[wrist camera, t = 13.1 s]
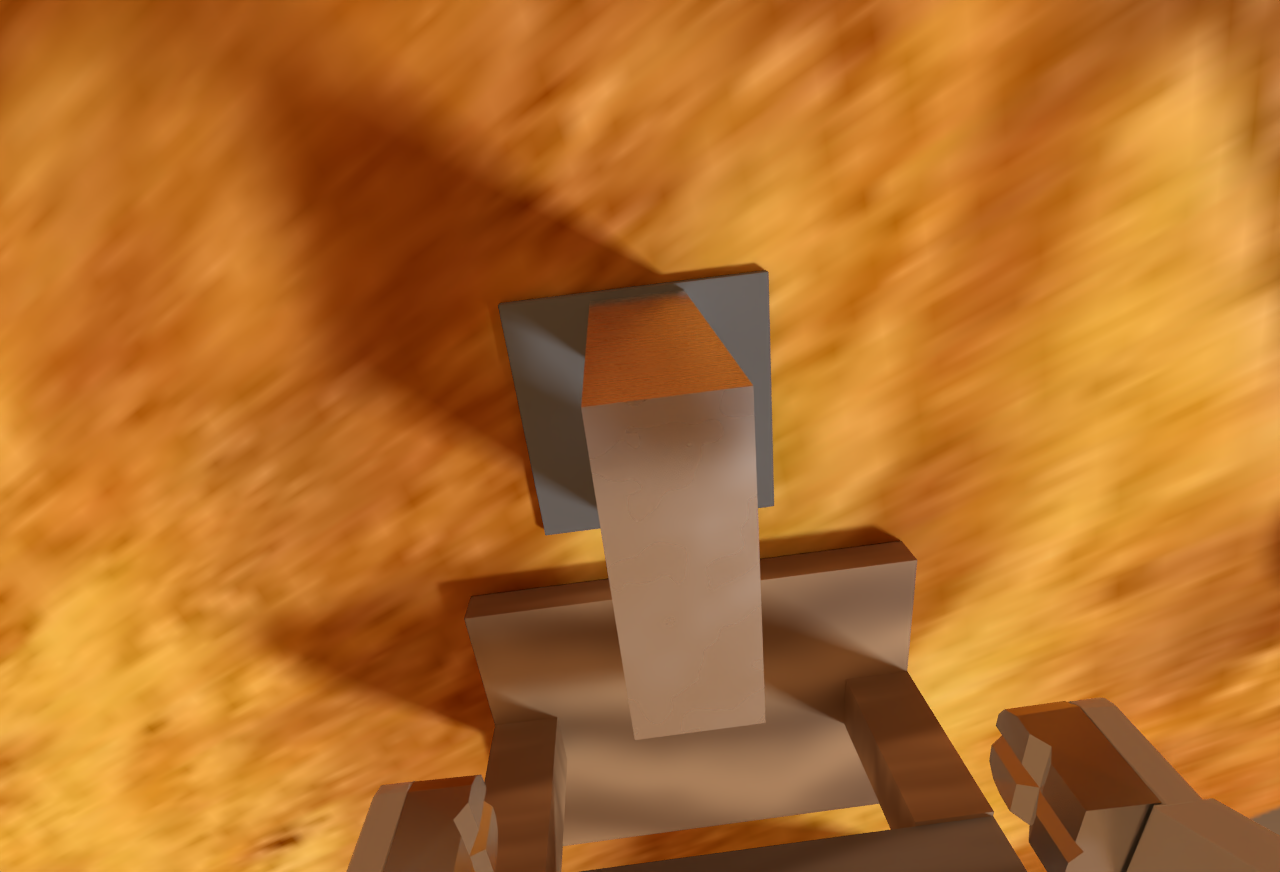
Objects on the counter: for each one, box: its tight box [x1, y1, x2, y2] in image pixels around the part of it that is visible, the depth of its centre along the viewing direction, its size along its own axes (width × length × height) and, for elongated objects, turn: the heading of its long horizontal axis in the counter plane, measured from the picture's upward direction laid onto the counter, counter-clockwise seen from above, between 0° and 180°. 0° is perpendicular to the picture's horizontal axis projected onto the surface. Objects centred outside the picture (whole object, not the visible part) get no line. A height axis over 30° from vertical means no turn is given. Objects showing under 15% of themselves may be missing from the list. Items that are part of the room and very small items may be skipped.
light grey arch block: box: [581, 290, 766, 740], centre depth 19 cm, size 10×4×11 cm, turn 6°
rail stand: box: [464, 541, 1027, 872], centre depth 26 cm, size 16×20×11 cm
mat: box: [498, 270, 774, 535], centre depth 24 cm, size 10×10×1 cm
